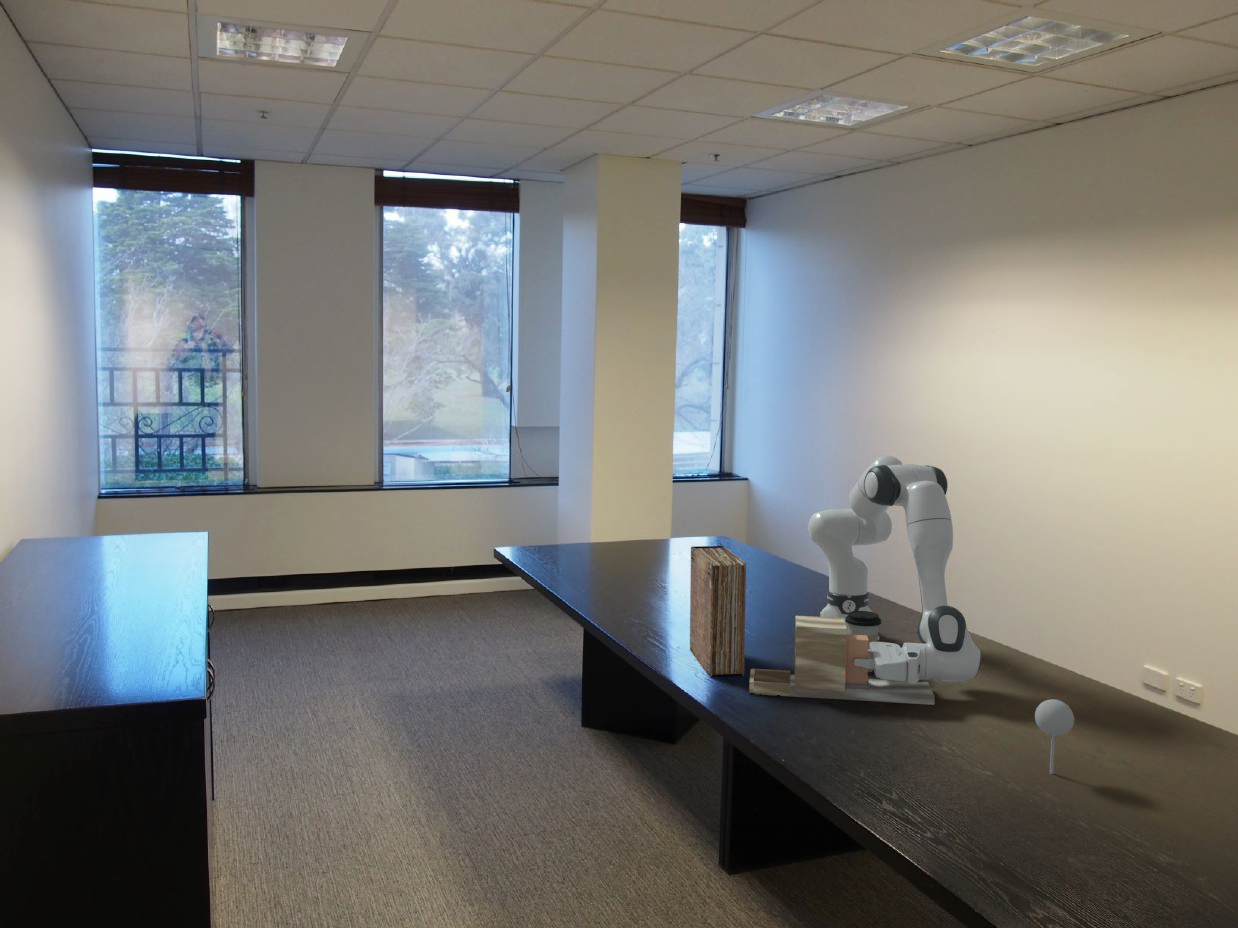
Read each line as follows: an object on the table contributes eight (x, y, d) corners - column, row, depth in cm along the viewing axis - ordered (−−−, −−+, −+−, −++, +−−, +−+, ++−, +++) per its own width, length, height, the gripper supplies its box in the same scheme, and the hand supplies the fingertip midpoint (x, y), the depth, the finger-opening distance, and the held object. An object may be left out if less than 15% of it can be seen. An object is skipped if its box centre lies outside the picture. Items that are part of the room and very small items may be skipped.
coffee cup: (854, 675, 258) (856, 619, 256) (837, 665, 267) (838, 611, 265) (886, 673, 260) (888, 617, 259) (868, 662, 269) (870, 608, 268)
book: (744, 676, 257) (746, 563, 254) (709, 677, 256) (711, 563, 253) (721, 648, 282) (722, 545, 279) (689, 649, 281) (690, 546, 278)
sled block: (818, 678, 249) (819, 632, 247) (867, 681, 247) (868, 634, 246) (819, 686, 243) (820, 638, 242) (869, 689, 241) (871, 641, 240)
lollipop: (1060, 765, 200) (1064, 694, 199) (1077, 780, 193) (1081, 706, 192) (1026, 766, 200) (1029, 694, 199) (1042, 780, 193) (1045, 706, 192)
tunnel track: (750, 679, 254) (752, 613, 252) (927, 689, 247) (930, 621, 245) (749, 693, 243) (750, 624, 242) (934, 704, 236) (937, 633, 234)
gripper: (906, 636, 251) (850, 634, 254) (916, 660, 231) (856, 657, 234) (905, 661, 252) (849, 658, 254) (915, 686, 232) (855, 683, 234)
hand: (853, 657), depth 244 cm, fingers closed on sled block, 4 cm apart
